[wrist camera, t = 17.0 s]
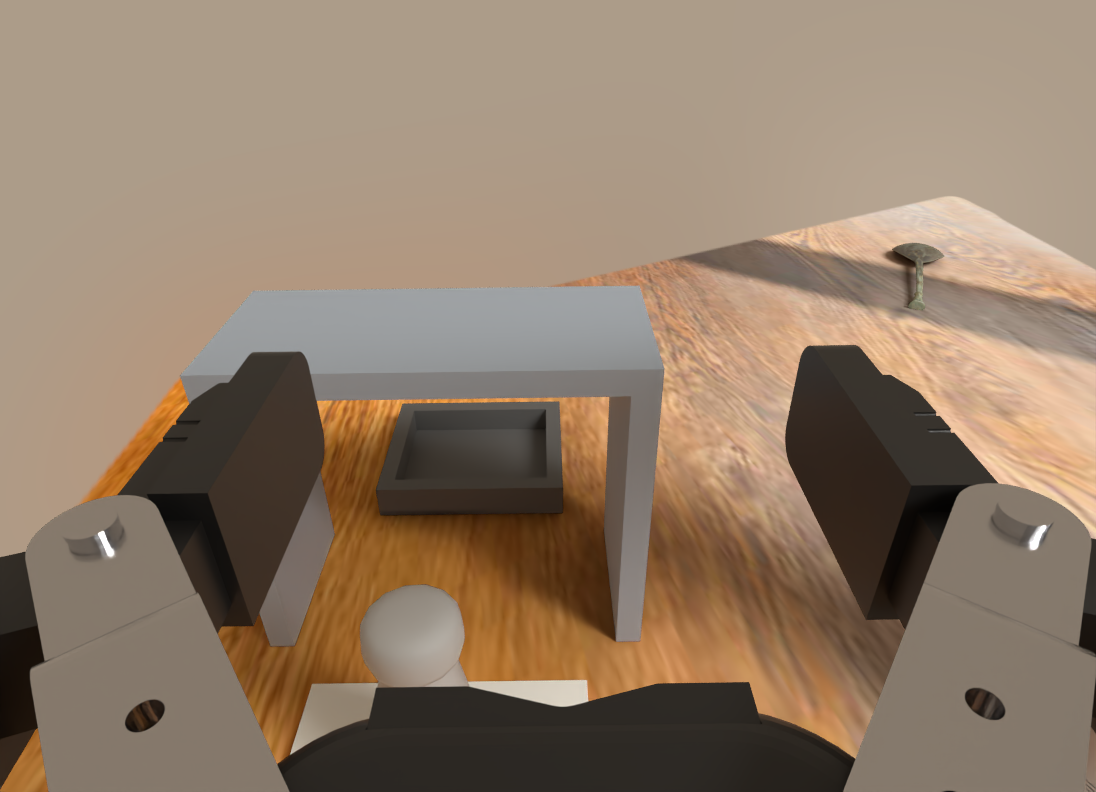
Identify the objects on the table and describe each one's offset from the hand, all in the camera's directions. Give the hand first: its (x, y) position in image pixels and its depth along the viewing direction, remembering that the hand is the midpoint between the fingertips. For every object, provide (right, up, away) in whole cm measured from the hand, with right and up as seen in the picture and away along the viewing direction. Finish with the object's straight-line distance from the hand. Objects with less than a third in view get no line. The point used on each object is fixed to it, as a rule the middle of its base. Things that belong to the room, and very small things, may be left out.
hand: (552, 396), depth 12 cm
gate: (-6, -13, +36) cm, 39 cm away
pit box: (-6, -6, +47) cm, 48 cm away
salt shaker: (-6, -20, +24) cm, 32 cm away
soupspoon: (+48, +15, +81) cm, 96 cm away
